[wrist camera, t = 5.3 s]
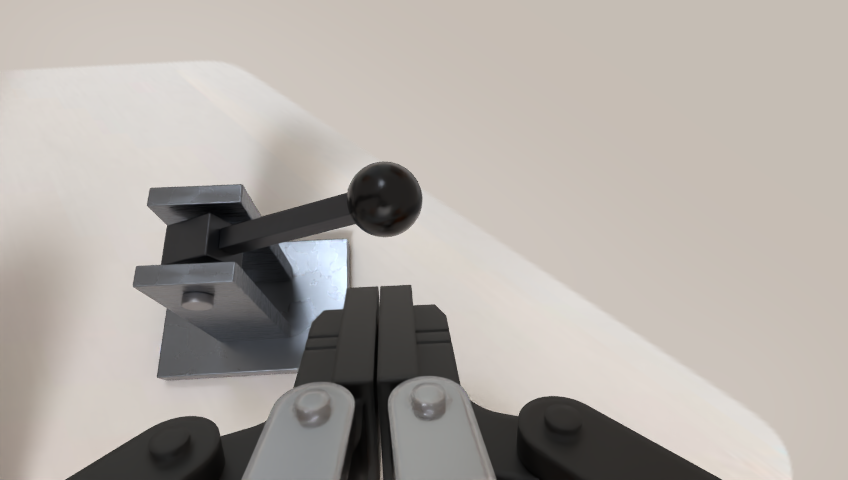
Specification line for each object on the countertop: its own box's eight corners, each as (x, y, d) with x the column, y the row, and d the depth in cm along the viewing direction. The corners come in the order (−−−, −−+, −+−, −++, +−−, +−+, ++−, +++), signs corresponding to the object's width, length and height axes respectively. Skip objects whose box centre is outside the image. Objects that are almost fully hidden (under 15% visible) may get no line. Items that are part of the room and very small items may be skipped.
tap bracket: (349, 245, 37) (322, 145, 25) (350, 369, 33) (319, 321, 22) (182, 253, 36) (76, 154, 25) (165, 380, 33) (30, 336, 21)
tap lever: (431, 174, 23) (400, 138, 20) (436, 239, 22) (404, 209, 19) (210, 235, 27) (160, 212, 25) (203, 292, 26) (150, 274, 23)
